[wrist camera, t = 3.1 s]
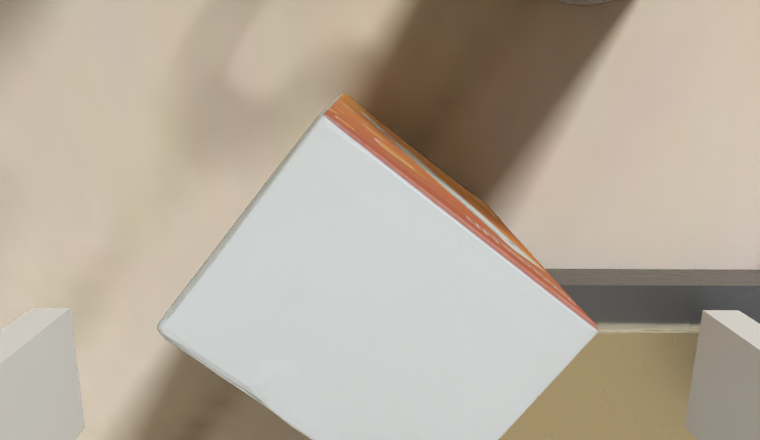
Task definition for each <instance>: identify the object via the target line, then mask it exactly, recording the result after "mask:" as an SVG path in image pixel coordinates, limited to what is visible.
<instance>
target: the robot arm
mask: <svg viewBox="0 0 760 440" xmlns="http://www.w3.org/2000/svg"><path fill="white" fill-rule="evenodd" d="M684 426H685V427H686V428H687V429H688V431H689V432H690V433H691V434H692V435H693V436H694V437H695V438H696V439H697V440H760V324H759V323H758V322H756V321H755V320H753V319H751V318H750V317H748V316H747V315H745V314H744V313H742V312H740V311H739V310H703V312H702V318H701V324H700V331H699V337H698V343H697V350H696V356H695V362H694V369H693V375H692V381H691V387H690V394H689V400H688V406H687V413H686V419H685V425H684ZM84 428H85V425H84V417H83V409H82V401H81V392H80V384H79V376H78V368H77V359H76V351H75V343H74V335H73V327H72V318H71V310H70V308H31V309H30V310H29V311H27V312H26V313H24V314H23V315H21V316H20V317H19V318H17V319H16V320H14V321H13V322H11V323H10V324H9V325H7V326H6V327H4V328H3V329H1V330H0V440H75V439H76V438H77V437H78V435H79V434H80V433H81V432H82V430H83V429H84Z"/></svg>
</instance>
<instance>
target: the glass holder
mask: <svg viewBox="0 0 760 440" xmlns="http://www.w3.org/2000/svg"><path fill="white" fill-rule="evenodd" d="M555 1H558V2H561V3H565V4H575V5H592V4H602V3H606V2H609V1H613V0H555Z"/></svg>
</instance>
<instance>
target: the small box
mask: <svg viewBox="0 0 760 440" xmlns="http://www.w3.org/2000/svg"><path fill="white" fill-rule="evenodd" d="M157 329H158V331H159V333H160V334H161V335H162V336H163V337H164V338H165V339H166V340H168V341H169V342H171V343H172V344H174V345H175V346H177V347H178V348H179V349H181V350H182V351H184V352H185V353H186V354H188V355H189V356H191V357H192V358H194V359H195V360H197V361H199V362H200V363H202V364H203V365H204V366H206V367H207V368H209V369H210V370H212V371H213V372H214V373H216V374H217V375H219V376H220V377H222V378H223V379H225V380H226V381H228V382H229V383H231V384H232V385H234V386H236V387H237V388H239V389H240V390H242V391H243V392H245V393H246V394H247V395H249V396H250V397H252V398H253V399H255V400H256V401H258V402H259V403H261V404H262V405H263V406H265V407H266V408H267V409H269V410H270V411H271V412H273V413H274V414H275V415H277V416H278V417H279V418H281V419H282V420H283V421H285V422H286V423H287V424H289V425H290V426H291V427H293V428H294V429H296V430H297V431H299V432H300V433H302V434H303V435H305V436H306V437H308V438H310V439H311V440H499V439H500V438H501V436H502V435H503V434H504V433H505V432H506V431H507V430H508V429H509V428H510V427H511V426H512V425H513V424H514V423H515V421H516V420H517V419H518V418H519V417H520V416H521V415H522V414H523V413H524V412H525V410H526V409H527V408H528V407H529V406H530V405H531V404H532V403H533V402H534V401H535V400H536V398H537V397H538V396H539V395H540V394H541V393H542V392H543V391H544V390H545V389H546V388H547V387H548V386H549V385H550V383H551V382H552V381H553V380H554V379H555V378H556V377H557V376H558V375H559V374H560V373H561V372H562V371H563V370H564V368H565V367H566V366H567V365H568V364H569V363H570V362H571V361H572V360H573V359H574V357H575V356H576V355H577V354H578V353H579V352H580V351H581V349H582V348H583V347H584V346H585V345H586V344H587V343H588V342H589V341H590V340H591V339H592V338H593V337H594V336H595V335H596V334H597V333H598V327H597V325H596V324H595V323H594V322H593V321H592V320H591V319H590V318H589V317H588V315H587V314H586V313H585V312H584V311H583V310H582V309H581V308H580V307H579V306H578V305H577V304H576V303H575V302H574V301H573V300H572V299H571V297H570V296H569V295H568V294H567V293H566V292H565V291H564V290H563V289H562V288H561V287H560V286H559V284H558V283H557V282H556V281H555V280H554V279H553V278H552V277H551V275H550V274H549V273H548V272H547V271H546V270H545V269H544V268H543V266H542V265H541V264H540V263H539V262H538V261H537V260H536V259H535V258H534V257H533V255H532V254H531V253H530V252H529V251H528V250H527V249H526V248H525V247H524V245H523V244H522V243H521V242H520V241H519V240H518V239H517V238H516V237H515V236H514V235H513V234H512V233H511V232H510V230H509V229H508V228H507V227H506V226H505V225H504V224H503V222H502V221H501V220H500V218H499V217H498V216H497V215H496V214H495V213H494V212H493V211H492V210H491V208H490V207H489V206H488V205H487V204H486V203H485V202H484V201H482V200H481V199H479V198H478V197H476V196H475V195H474V194H472V193H471V192H469V191H468V190H466V189H465V188H464V187H462V186H461V185H460V184H458V183H457V182H456V181H454V180H453V179H452V178H451V177H449V176H448V175H447V174H445V173H444V172H443V171H442V170H440V169H439V168H438V167H436V166H435V165H434V164H433V163H431V162H430V161H429V160H428V159H426V158H425V157H424V156H422V155H421V154H420V153H419V152H417V151H416V150H415V149H414V148H412V147H411V146H410V145H409V144H407V143H406V142H405V141H404V140H402V139H401V138H400V137H399V136H397V135H396V134H395V133H394V132H392V131H391V130H390V129H389V128H387V127H386V126H385V125H384V124H382V123H381V122H380V121H379V120H377V119H376V118H375V117H374V116H372V115H371V114H370V113H369V112H368V111H366V110H365V109H364V108H363V107H361V106H360V105H359V104H358V103H357V102H355V101H354V100H353V99H352V98H351V97H349V96H348V95H347V94H345V93H341V94H340V95H339V96H338V97H336V98H335V99H334V100H333V101H332V102H331V104H330V105H329V106H328V107H327V108H326V109H325V110H324V111H323V112H322V113H321V114H320V115H319V116H318V117H317V118H316V120H315V121H314V122H313V123H312V125H311V126H310V127H309V128H308V130H307V131H306V132H305V133H304V135H303V136H302V137H301V138H300V140H299V141H298V142H297V143H296V145H295V146H294V147H293V148H292V150H291V151H290V152H289V153H288V155H287V156H286V157H285V159H284V160H283V161H282V163H281V164H280V165H279V166H278V168H277V169H276V170H275V172H274V173H273V174H272V176H271V177H270V178H269V179H268V181H267V182H266V183H265V185H264V186H263V187H262V189H261V190H260V191H259V192H258V194H257V195H256V196H255V198H254V199H253V200H252V202H251V203H250V204H249V205H248V207H247V208H246V209H245V211H244V212H243V213H242V215H241V216H240V217H239V219H238V220H237V221H236V222H235V224H234V225H233V226H232V228H231V229H230V230H229V232H228V233H227V234H226V236H225V237H224V238H223V239H222V241H221V242H220V243H219V245H218V246H217V247H216V249H215V250H214V251H213V253H212V254H211V255H210V257H209V258H208V259H207V260H206V262H205V263H204V264H203V266H202V267H201V268H200V269H199V271H198V272H197V273H196V275H195V276H194V277H193V278H192V280H191V281H190V282H189V284H188V285H187V286H186V287H185V289H184V290H183V291H182V293H181V294H180V295H179V296H178V298H177V299H176V300H175V302H174V303H173V304H172V306H171V307H170V308H169V310H168V311H167V312H166V314H165V315H164V316H163V318H162V319H161V320H160V322H159V324H158V325H157Z"/></svg>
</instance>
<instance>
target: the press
mask: <svg viewBox="0 0 760 440" xmlns="http://www.w3.org/2000/svg"><path fill="white" fill-rule="evenodd" d="M545 270H546V271H547V272H548V273H549V274H550V275H551V277H552V278H553V279H554V280H555V281H556V282H557V283H558V284H559V286H560V287H561V288H562V289H563V290H564V291H565V292H566V293H567V294H568V295H569V296H570V297H571V299H572V300H573V301H574V302H575V303H576V304H577V305H578V306H579V307H580V308H581V309H582V310H583V311H584V312H585V313H586V314H587V315H588V317H589V318H590V319H591V320H592V321H593V322H594V323H595V324H596V325H597V327H598V333H597V334H596V335H595V336H594V337H593V338H592V339H591V340H590V341H589V342H588V343H587V344H586V345H585V346H584V347H583V348H582V349H581V351H580V352H579V353H578V354H577V355H576V356H575V357H574V359H573V360H572V361H571V362H570V363H569V364H568V365H567V366H566V367H565V368H564V370H563V371H562V372H561V373H560V374H559V375H558V376H557V377H556V378H555V379H554V380H553V381H552V382H551V383H550V385H549V386H548V387H547V388H546V389H545V390H544V391H543V392H542V393H541V394H540V395H539V396H538V397H537V398H536V400H535V401H534V402H533V403H532V404H531V405H530V406H529V407H528V408H527V409H526V410H525V412H524V413H523V414H522V415H521V416H520V417H519V418H518V419H517V420H516V421H515V423H514V424H513V425H512V426H511V427H510V428H509V429H508V430H507V431H506V432H505V433H504V434H503V435H502V436H501V438H500V439H499V440H697V439H696V438H695V437H694V436H693V435H692V434H691V433H690V432H689V431H688V429H687V428H686V427H685V426H684V425H685V419H686V413H687V406H688V400H689V394H690V387H691V381H692V375H693V369H694V362H695V356H696V350H697V343H698V337H699V331H700V324H701V318H702V312H703V310H739V311H740V312H742V313H744V314H745V315H747V316H748V317H750V318H751V319H753V320H755V321H756V322H758V323H759V324H760V270H638V269H545Z"/></svg>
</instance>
